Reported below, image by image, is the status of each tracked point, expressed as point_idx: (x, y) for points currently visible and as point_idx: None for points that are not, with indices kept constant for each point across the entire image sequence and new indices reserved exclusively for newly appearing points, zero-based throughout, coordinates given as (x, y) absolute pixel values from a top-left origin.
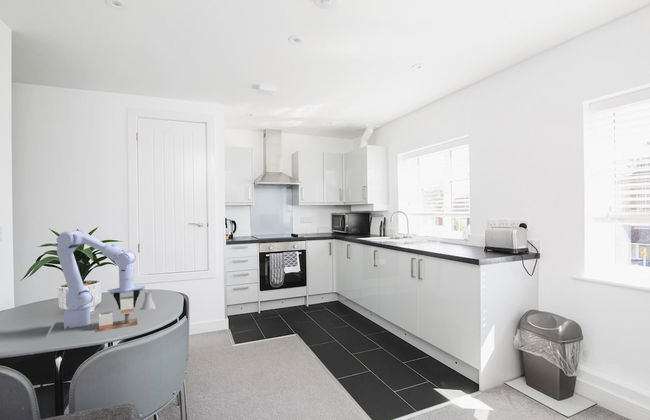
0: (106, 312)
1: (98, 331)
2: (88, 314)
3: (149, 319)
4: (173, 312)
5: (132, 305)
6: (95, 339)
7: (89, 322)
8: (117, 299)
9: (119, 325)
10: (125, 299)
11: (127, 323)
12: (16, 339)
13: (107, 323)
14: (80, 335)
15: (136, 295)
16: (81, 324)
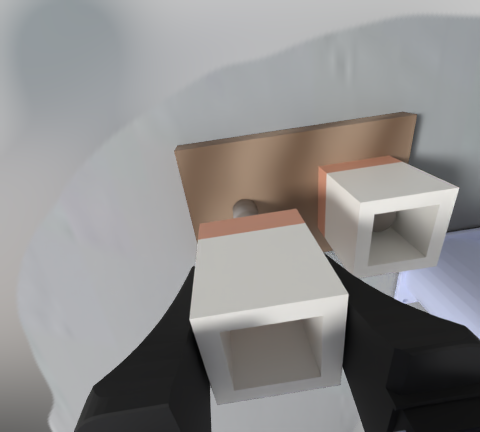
0: (392, 260)
1: (396, 117)
2: (459, 303)
3: (142, 263)
4: (39, 322)
5: (205, 255)
6: (406, 29)
7: (418, 276)
8: (389, 309)
9: (283, 181)
10: (287, 308)
11: (241, 199)
12: None
13: (359, 171)
14: (459, 153)
15: (141, 365)
16: (459, 251)
